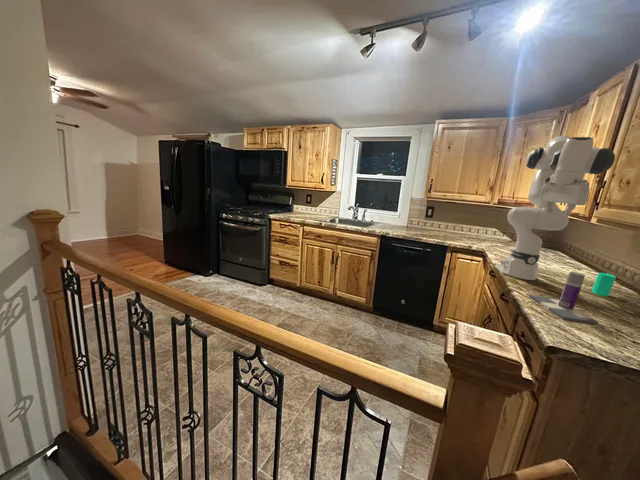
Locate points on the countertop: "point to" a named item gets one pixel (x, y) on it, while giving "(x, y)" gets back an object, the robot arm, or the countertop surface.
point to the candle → (603, 284)
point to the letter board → (562, 310)
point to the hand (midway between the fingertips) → (556, 214)
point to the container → (571, 290)
